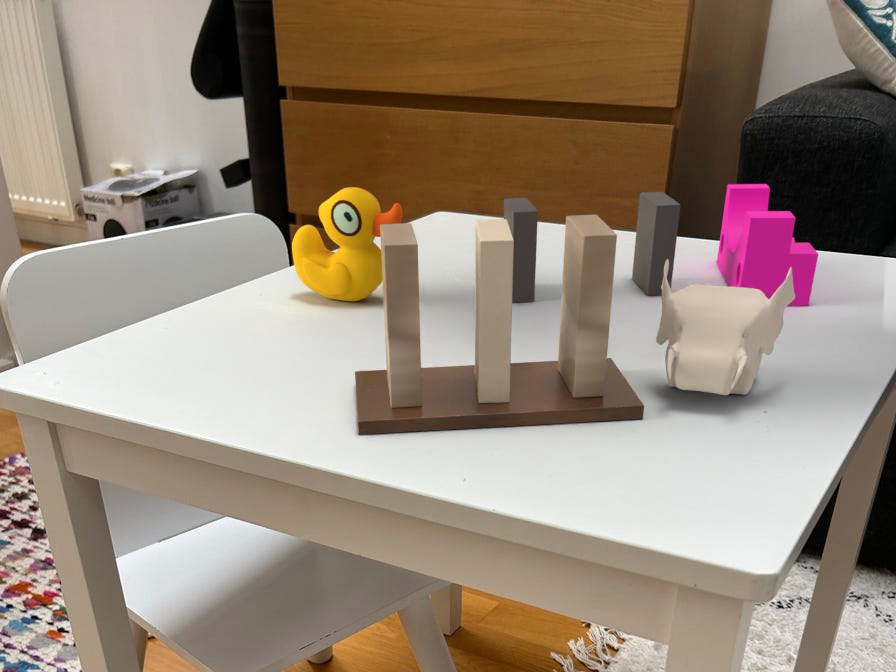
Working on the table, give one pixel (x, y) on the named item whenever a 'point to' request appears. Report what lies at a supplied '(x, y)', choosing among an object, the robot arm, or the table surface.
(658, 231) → the dark grey upright posts
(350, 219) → the duckling
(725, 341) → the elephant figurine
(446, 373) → the book rack
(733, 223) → the toy block
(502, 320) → the beige rectangular block
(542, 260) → the table surface
